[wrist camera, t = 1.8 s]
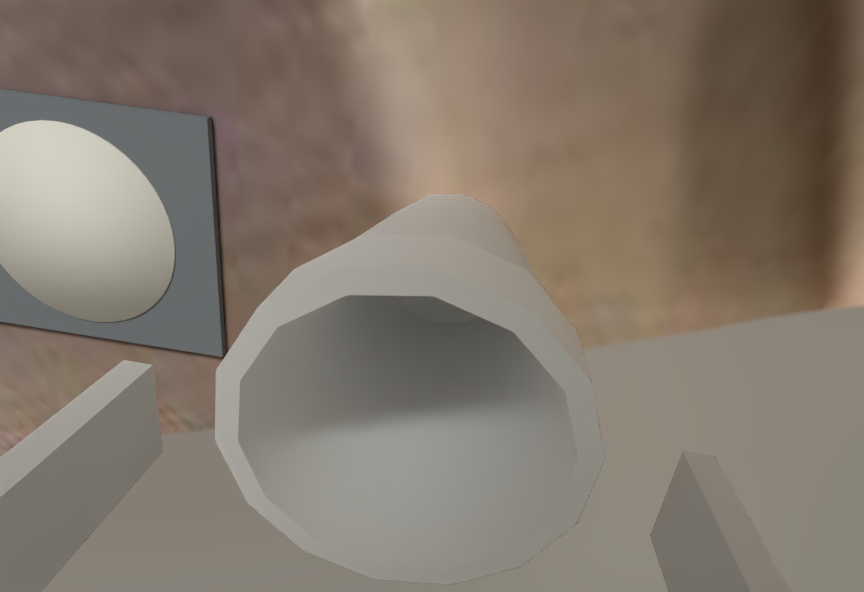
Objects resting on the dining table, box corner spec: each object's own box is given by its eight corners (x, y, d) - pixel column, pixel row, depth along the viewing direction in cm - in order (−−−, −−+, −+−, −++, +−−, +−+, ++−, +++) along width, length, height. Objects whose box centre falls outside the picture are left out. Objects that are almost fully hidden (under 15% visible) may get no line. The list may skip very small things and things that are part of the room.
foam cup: (464, 381, 27) (437, 630, 15) (312, 275, 26) (155, 462, 14) (596, 243, 23) (695, 433, 12) (428, 110, 22) (346, 173, 10)
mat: (-90, 76, 24) (-101, 77, 23) (211, 116, 23) (205, 118, 23) (-23, 313, 29) (-31, 317, 28) (226, 353, 28) (221, 358, 28)
